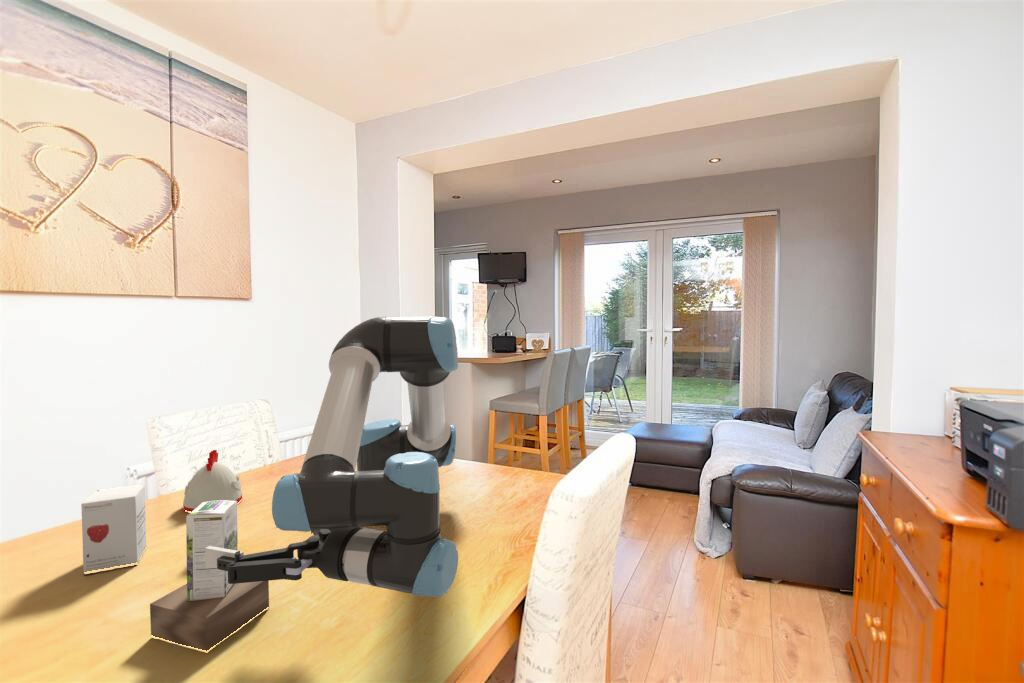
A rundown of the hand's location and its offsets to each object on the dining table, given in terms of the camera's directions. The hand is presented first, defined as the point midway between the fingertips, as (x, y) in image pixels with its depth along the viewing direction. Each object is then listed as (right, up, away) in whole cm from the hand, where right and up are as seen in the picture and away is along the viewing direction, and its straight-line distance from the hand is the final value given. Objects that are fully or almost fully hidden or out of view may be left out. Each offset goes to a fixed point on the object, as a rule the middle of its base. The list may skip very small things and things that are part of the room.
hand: (245, 535), depth 77 cm
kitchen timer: (-40, -14, +55) cm, 69 cm away
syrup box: (-7, -11, +3) cm, 13 cm away
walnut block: (-7, -16, +3) cm, 18 cm away
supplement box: (-41, -15, +23) cm, 49 cm away
